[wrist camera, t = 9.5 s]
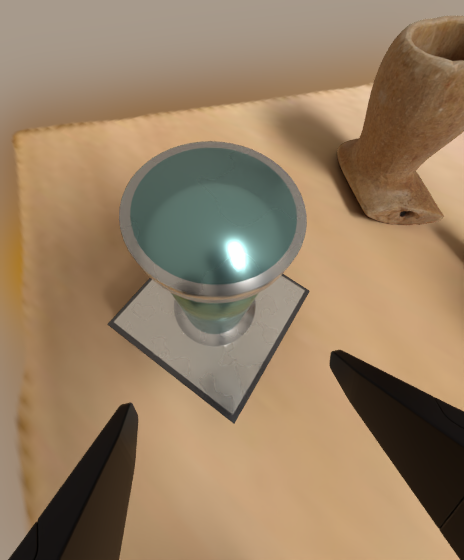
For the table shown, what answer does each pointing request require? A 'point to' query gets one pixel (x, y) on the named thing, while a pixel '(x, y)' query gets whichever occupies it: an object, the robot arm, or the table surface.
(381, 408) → the robot arm
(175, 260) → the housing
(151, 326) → the stand
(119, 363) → the table surface
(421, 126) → the stone cup
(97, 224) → the table surface
